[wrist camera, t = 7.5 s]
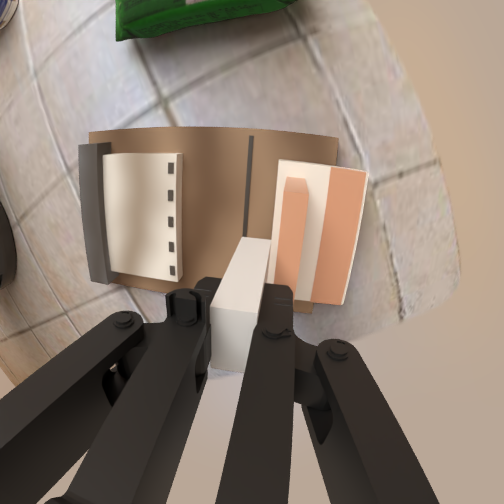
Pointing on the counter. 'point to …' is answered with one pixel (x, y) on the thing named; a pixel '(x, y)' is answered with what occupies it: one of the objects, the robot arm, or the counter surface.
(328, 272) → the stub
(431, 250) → the counter surface
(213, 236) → the wooden base board
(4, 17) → the pill bottle
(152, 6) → the snack package
